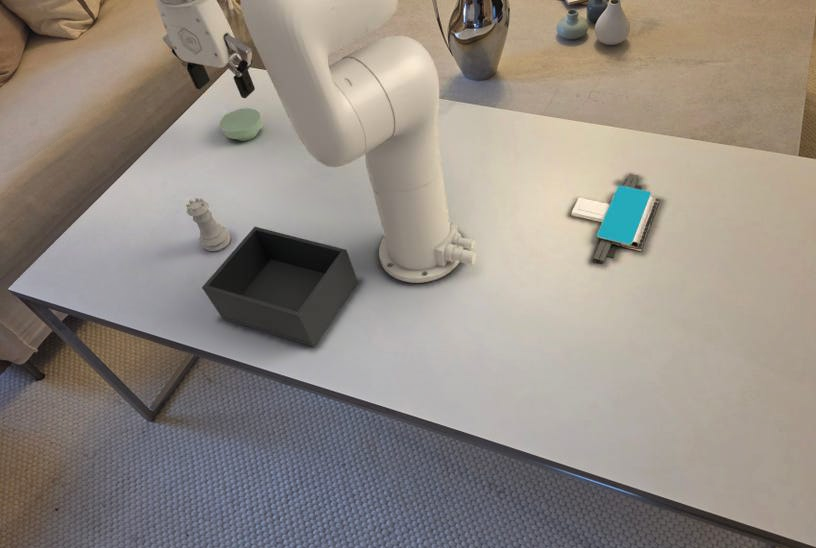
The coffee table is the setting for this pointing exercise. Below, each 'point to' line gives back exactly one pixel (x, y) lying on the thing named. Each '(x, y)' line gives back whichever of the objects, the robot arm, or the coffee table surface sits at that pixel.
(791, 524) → the coffee table surface
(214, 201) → the coffee table surface
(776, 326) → the coffee table surface
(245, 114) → the green round disc
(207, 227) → the rook chess piece
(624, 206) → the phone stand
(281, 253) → the tub
